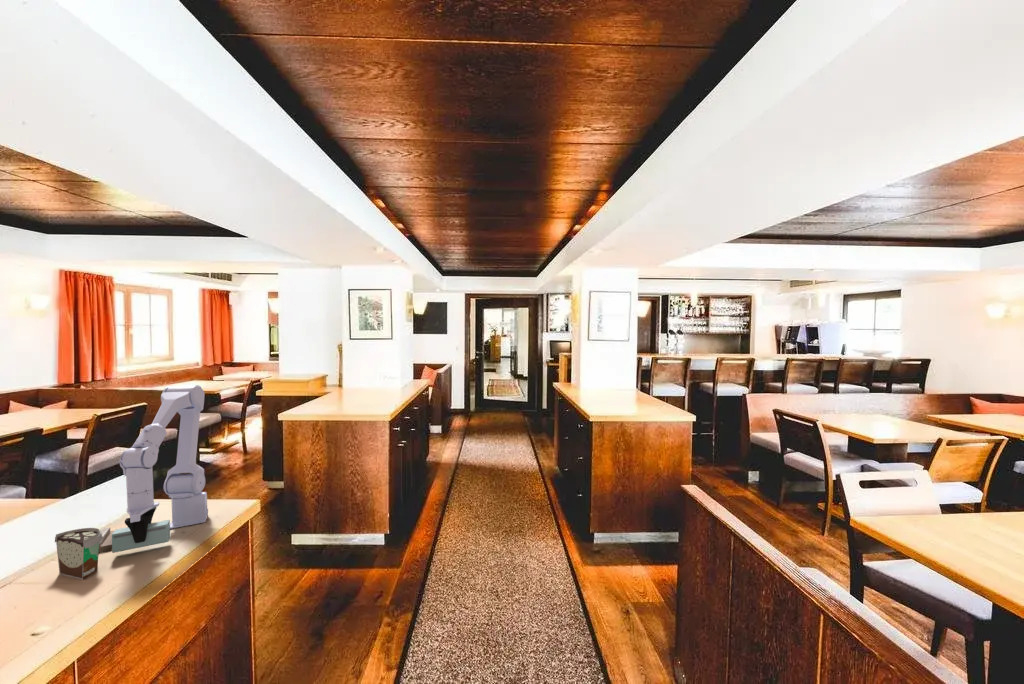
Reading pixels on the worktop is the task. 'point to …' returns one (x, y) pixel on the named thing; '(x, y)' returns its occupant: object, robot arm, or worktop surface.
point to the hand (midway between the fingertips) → (142, 538)
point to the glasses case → (155, 535)
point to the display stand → (106, 540)
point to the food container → (78, 552)
